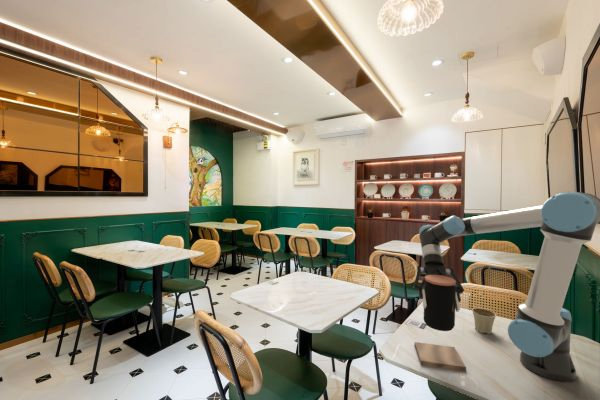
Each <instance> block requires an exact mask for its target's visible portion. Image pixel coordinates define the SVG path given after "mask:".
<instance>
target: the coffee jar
mask: <svg viewBox="0 0 600 400" xmlns="http://www.w3.org/2000/svg"><path fill="white" fill-rule="evenodd" d="M426 275H427V274H426ZM426 275H425V276H424V278H425V280H426V282H425V286H424V287H423V289H424V290H425V297H426V304H427V306H426V308H423V321H424V323H425V325H426V326H427V327H428V328H431V329H433V330H435V331H438V332H439V331H440V332H449V331H452V330H453V329H454V327H455V325H456V323H455V322H456V309H455V299H456V287H455V286H454V285H455V284H456V281H455V280H454V279H453V278H450V276H447V275H446V276H442V275H427V276H426Z"/></svg>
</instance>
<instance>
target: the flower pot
mask: <svg viewBox="0 0 600 400" xmlns="http://www.w3.org/2000/svg"><path fill="white" fill-rule="evenodd" d="M471 311H472V314H473V320H474V328H475V330H476V331H477V332H479V333H481V334H488V335H489V334H491V333H492V332H493V331H492V330H493V326H494V322H495V319H496V317H497V313H495V312H494V311H491V310H490V309H487V308H481V307H475V308H474V307H473V308H471Z"/></svg>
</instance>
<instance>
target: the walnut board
mask: <svg viewBox="0 0 600 400" xmlns="http://www.w3.org/2000/svg"><path fill="white" fill-rule="evenodd" d="M414 349H415V351H416V354H417V358H418V361H419V364H420V365H421V366H428V367H435V368H442V369H447V370H448V369H449V370H456V371H463V372H467V366H466V365H465V363H464V361H463V359H462V358H461V356H460V354H459V353H458V350H457V349H456V348H455V347H454V346H450V345H449V346H448V345H440V344H434V343H427V342H426V343H425V342H419V341H417V342H416V341H414Z"/></svg>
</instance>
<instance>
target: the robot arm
mask: <svg viewBox="0 0 600 400" xmlns="http://www.w3.org/2000/svg"><path fill="white" fill-rule="evenodd" d="M598 224H600V198H599V197H598V196H596V195H594V194H591V193H587V192H578V191H563V192H560V193H556V194H554V195H552V196H551V197H548V199H547V200H545V202H543V204H542V205H537V206H536V205H535V206H530V207H524V208H523V207H522V208H518V209H511V210H506V211H499V212H495V213H489V214H481V215H477V216H471V217H463V218H460V217H459V216H457V215H451V216H449V217H446V218H445V219H444V220H442V221H440V222H439V223H436V224H435V225H433V224H427V225H422V226H421V227H420V228H419V231H418V232H419V235H418V236H419V241H420V247H421V254H422V262H423V267H421V266H420V265H417V266H416V270H415V271H416V276H415V279H414V283H413V287H412V289H413V291H414V290H416V291H417V293H418V298H419V299H420V300H421V302H422V309H424V308H426V306H427V304H426V297H425V290H424V286H425V282H426V280H425V277H424V278H423V280H422V281H421V283H420V284H419V280H420V276H421V273H423V272H424V273H425V276H427V275H442V276H447V275H448V277H450V278H453V279H454V280H455V281H456V284H455V285H454V286H455V287H456V299H455V313H458V312H460V310H461V307H460V303H461V301H462V299H461V295H462V294H463V293H464V292H465V288H464V287H463V286H462V284H461V282H460V279H458V277H457V275H456V274H455V271H454V270H455V269H454V268H452V267H450V269H449V268H446V267H445V264H444V259H443V254H442V251H441V250H442V249H441V243H444V242H445V241H447V240H449V239H452V238H455V237H456V238H457V237H462V236H471V235H478V234H485V233H486V234H487V233H496V232H504V231H513V230H521V229H530V228H539V227H540V229H539V231H540V232H541V233H542V234H543V236H544V238H543V242H542V245H541V248H540V251H539V252H540V253H539V256H538V258H537V262H536V266H535V269H534V273H533V276H532V280H531V282H530V287H529V291H528V293H527V297H526V301H525V302H523V303H519V304H518V307H517V311H516V314H515V317H514V319H513V320H511V322H510V323H509V324H508V327H507V333H508V334H507V335H508V337H509V340H510V341H511V342H512V344H513V345H514V346H515V348H517V349H519V350H520V353H519V362H520V363H521V364H522V365H523V366H524V367H525V368H526V369H527V370H529V371H531V372H532V373H534V374H536V375H539V376H541V377H544V378H547V379H550V380H552V381H553V380H554V381H558V382H563V383H567V382H568V383H569V382H573V381H576V378H577V370H576V367H575V364H574V361H573V358H572V357H571V353H570V352H571V351H570V350H571V336H572V335H571V331H572V329H571V328H572V321H573V320H572V315H571V312H570V310H568V309H566V308H564V307H563V306H564V303H565V299H566V297H567V296H566V295H567V294H568V293H567V292H568V290H569V287H570V283H571V282H572V281H571V280H572V277H573V274H574V271H575V269H576V265H577V263H578V262H577V261H578V258H579V255H580V251H581V250H582V245H584V244H586V243H589V242H591V241H592V238H593V235H594V232H595V229H596V227H597V225H598ZM418 284H419V285H418Z"/></svg>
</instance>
